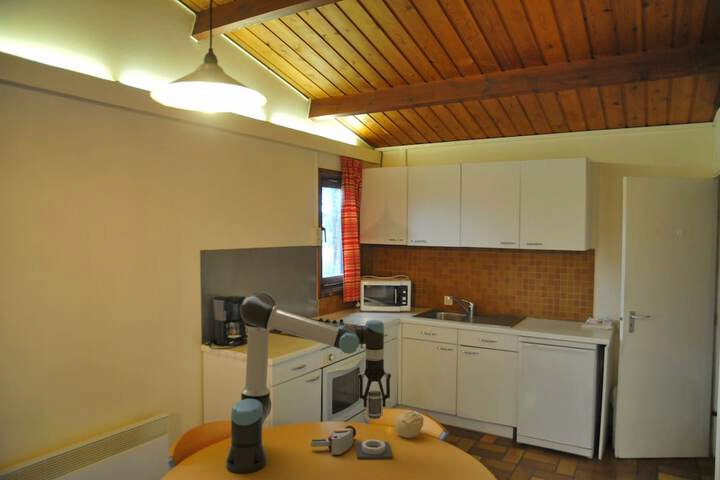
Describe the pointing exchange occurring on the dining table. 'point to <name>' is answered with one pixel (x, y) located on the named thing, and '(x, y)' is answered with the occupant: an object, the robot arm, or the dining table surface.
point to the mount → (373, 450)
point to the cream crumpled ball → (409, 424)
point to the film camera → (337, 440)
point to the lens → (374, 404)
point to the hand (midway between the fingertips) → (374, 414)
